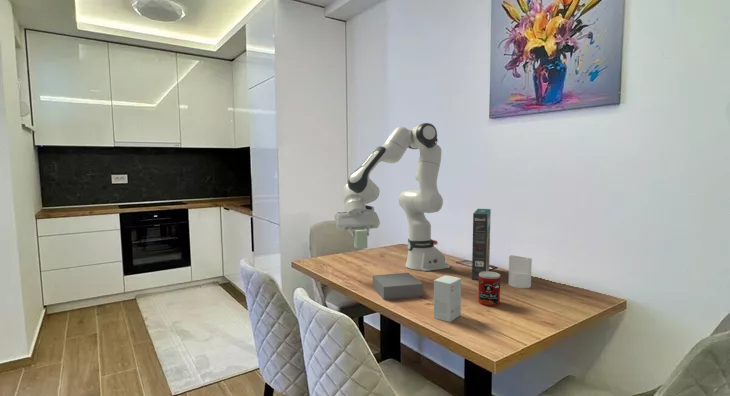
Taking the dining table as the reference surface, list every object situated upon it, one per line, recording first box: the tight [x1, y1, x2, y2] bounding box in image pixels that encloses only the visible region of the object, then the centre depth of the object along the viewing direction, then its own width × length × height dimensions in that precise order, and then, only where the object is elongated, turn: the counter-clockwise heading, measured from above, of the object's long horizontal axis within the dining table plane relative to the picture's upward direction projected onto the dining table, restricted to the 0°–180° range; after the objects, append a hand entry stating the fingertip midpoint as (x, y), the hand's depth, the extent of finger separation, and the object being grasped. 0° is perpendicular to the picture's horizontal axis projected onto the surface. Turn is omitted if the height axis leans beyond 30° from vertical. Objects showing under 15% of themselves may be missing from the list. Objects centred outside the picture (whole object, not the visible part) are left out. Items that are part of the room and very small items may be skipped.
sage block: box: [353, 229, 368, 250], centre depth 172 cm, size 5×5×8 cm
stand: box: [372, 272, 424, 301], centre depth 154 cm, size 16×16×5 cm
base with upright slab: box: [507, 254, 533, 289], centre depth 163 cm, size 9×9×12 cm
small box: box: [433, 274, 462, 323], centre depth 128 cm, size 8×6×13 cm
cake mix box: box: [471, 208, 492, 281], centre depth 178 cm, size 22×6×30 cm, turn 158°
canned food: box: [477, 270, 501, 307], centre depth 141 cm, size 8×8×11 cm
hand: (360, 235), depth 172 cm, fingers closed on sage block, 5 cm apart
